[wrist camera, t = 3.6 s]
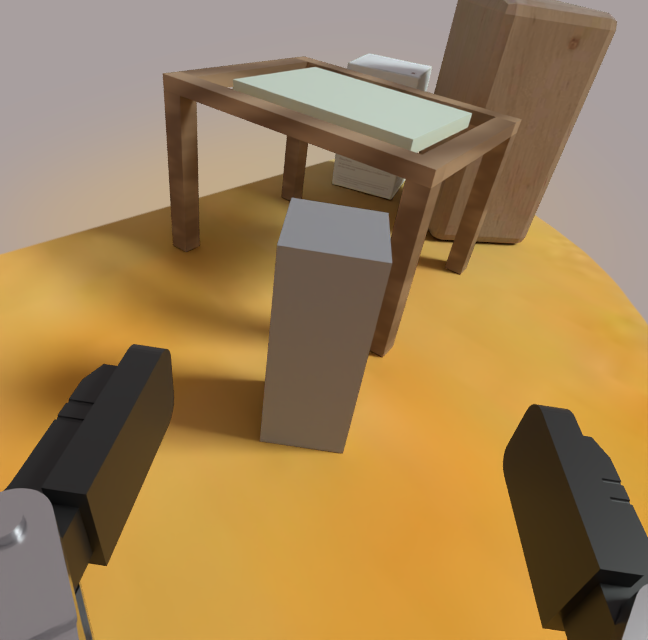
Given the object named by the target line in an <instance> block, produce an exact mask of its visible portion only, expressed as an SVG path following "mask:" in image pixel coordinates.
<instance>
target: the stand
mask: <svg viewBox="0 0 648 640" xmlns="http://www.w3.org/2000/svg"><path fill="white" fill-rule="evenodd" d="M311 67H317V68H321V69H324V70H328V71H332V72H335V73H338V74H342V75H345V76H348V77H352V78H355V79H358V80H361V81H365V82H368V83H372V84H375V85H378V86H382V87H385V88H388V89H392V90H395V91H399V92H402V93H405V94H409V95H412V96H415V97H419V98H422V99H426V100H430V101H433V102H436V103H440V104H443V105H446V106H450V107H453V108H456V109H459V110H463V111H466V112H469V113H472V115H471V119H470V122H469V124H471V125H474V126H477V127H475V128H473V129H471V130H469V131H467V132H466V133H464V134H462V135H460V136H458V137H456V138H454V139H452V140H450V141H448V142H446V143H444V144H442V145H440V146H438V147H436V148H434V149H432V150H430V151H428V152H426V153H424V154H419V153H416V152H413V151H410V150H407V149H404V148H401V147H398V146H395V145H392V144H390V143H387V142H384V141H381V140H378V139H375V138H372V137H369V136H366V135H363V134H361V133H358V132H355V131H352V130H349V129H346V128H343V127H340V126H337V125H334V124H331V123H329V122H326V121H323V120H320V119H317V118H314V117H311V116H308V115H305V114H302V113H300V112H297V111H294V110H291V109H288V108H285V107H282V106H279V105H276V104H273V103H270V102H268V101H265V100H262V99H259V98H256V97H253V96H250V95H247V94H244V93H241V92H239V91H236V90H233V89H230V88H227V87H233V79H239V78H245V77H252V76H258V75H265V74H272V73H278V72H285V71H292V70H298V69H305V68H311ZM163 85H164V101H165V118H166V133H167V151H168V168H169V183H170V201H171V217H172V234H173V245H174V246H176V247H178V248H180V249H182V250H183V251H185V252H187V251H189V250H191V249H194V248H196V247H198V246H200V238H199V195H198V148H197V105H196V104H197V103H196V102H199V103H201V104H204V105H207V106H210V107H212V108H215V109H217V110H220V111H223V112H226V113H228V114H231V115H234V116H237V117H239V118H242V119H245V120H247V121H250V122H253V123H255V124H258V125H261V126H264V127H266V128H269V129H272V130H274V131H277V132H280V133H282V134H285V135H287V142H286V153H285V164H284V175H283V186H282V198H285V199H287V200H289V201H291V198H298V199H301V198H302V191H303V183H304V174H305V165H306V157H307V147H308V143H309V144H312V145H315V146H318V147H320V148H323V149H326V150H329V151H331V152H334V153H336V154H339V155H342V156H344V157H347V158H350V159H352V160H355V161H358V162H361V163H363V164H366V165H369V166H371V167H374V168H377V169H379V170H382V171H385V172H388V173H390V174H393V175H396V176H398V177H401V178H404V179H405V183H404V187H403V191H402V195H401V199H400V203H399V207H398V211H397V215H396V219H395V223H394V228H393V232H392V236H391V253H392V266H391V270H390V274H389V278H388V282H387V286H386V290H385V293H384V297H383V301H382V305H381V309H380V313H379V316H378V320H377V324H376V328H375V332H374V336H373V339H372V343H371V347H370V351H372V352H374V353H376V354H378V355H379V356H381V357H383V356H384V355H385V354H386V353H387V352H388V351H389V350H390V349H391V348H392V347H393V344H394V341H395V337H396V334H397V331H398V327H399V324H400V321H401V317H402V314H403V311H404V307H405V304H406V301H407V297H408V294H409V290H410V287H411V284H412V280H413V277H414V274H415V270H416V267H417V264H418V260H419V257H420V254H421V250H422V247H423V243H424V240H425V237H426V233H427V230H428V227H429V223H430V220H431V217H432V213H433V210H434V207H435V203H436V200H437V196H438V193H439V190H440V186H441V183H442V181H443V180H445V179H446V178H448V177H450V176H451V175H453V174H454V173H456V172H457V171H459V170H460V169H462V168H463V167H465V166H466V165H468V164H470V163H471V162H473V161H474V160H476V159H477V158H479V157H480V156H482V155H483V157H482V160H481V163H480V166H479V169H478V171H477V174H476V177H475V180H474V183H473V186H472V189H471V192H470V195H469V198H468V201H467V204H466V207H465V210H464V213H463V216H462V219H461V221H460V224H459V227H458V230H457V233H456V236H455V239H454V242H453V245H452V248H451V251H450V254H449V257H448V260H447V263H446V266H445V268H447V269H449V270H451V271H454V272H456V273H458V274H461V273H462V272H463V271H464V270H465V269H466V267H467V265H468V262H469V259H470V257H471V254H472V251H473V249H474V246H475V243H476V241H477V238H478V235H479V233H480V230H481V227H482V225H483V222H484V219H485V216H486V214H487V211H488V208H489V206H490V203H491V200H492V198H493V195H494V192H495V190H496V187H497V184H498V182H499V179H500V176H501V173H502V171H503V168H504V165H505V163H506V160H507V157H508V155H509V152H510V149H511V147H512V144H513V141H514V139H515V136H516V133H517V130H518V128H519V125H520V122H521V120H522V119H519V118H515V117H512V116H508V115H505V114H501V113H498V112H494V111H491V110H488V109H484V108H481V107H477V106H474V105H470V104H467V103H463V102H460V101H456V100H453V99H450V98H446V97H443V96H439V95H436V94H432V93H429V92H425V91H422V90H418V89H415V88H412V87H408V86H405V85H401V84H398V83H394V82H391V81H387V80H384V79H380V78H377V77H374V76H370V75H367V74H363V73H360V72H356V71H353V70H349V69H345V68H342V67H339V66H336V65H332V64H328V63H325V62H322V61H318V60H315V59H311V58H307V57H295V58H287V59H278V60H270V61H262V62H255V63H246V64H237V65H229V66H221V67H213V68H204V69H196V70H187V71H179V72H171V73H163Z"/></svg>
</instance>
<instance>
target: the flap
mask: <svg viewBox="0 0 648 640" xmlns="http://www.w3.org/2000/svg"><path fill="white" fill-rule="evenodd" d="M233 90H236V91H239V92H241V93H244V94H247V95H250V96H253V97H256V98H259V99H262V100H265V101H268V102H270V103H273V104H276V105H279V106H282V107H285V108H288V109H291V110H294V111H297V112H300V113H302V114H305V115H308V116H311V117H314V118H317V119H320V120H323V121H326V122H329V123H331V124H334V125H337V126H340V127H343V128H346V129H349V130H352V131H355V132H358V133H361V134H363V135H366V136H369V137H372V138H375V139H378V140H381V141H384V142H387V143H390V144H392V145H395V146H398V147H401V148H404V149H407V150H410V151H413V152H416V153H417V152H419V151H421V150H423V149H425V148H427V147H429V146H431V145H433V144H435V143H437V142H439V141H441V140H443V139H445V138H447V137H449V136H451V135H453V134H455V133H457V132H459V131H461V130H464V129H466V128H468V125H469V122H470V119H471V115H472V113H469V112H466V111H463V110H459V109H456V108H453V107H450V106H446V105H443V104H440V103H436V102H433V101H430V100H426V99H422V98H419V97H415V96H412V95H409V94H405V93H402V92H399V91H395V90H392V89H388V88H385V87H382V86H378V85H375V84H372V83H368V82H365V81H361V80H358V79H355V78H352V77H348V76H345V75H342V74H338V73H335V72H332V71H328V70H324V69H321V68H317V67H311V68H305V69H298V70H292V71H285V72H278V73H272V74H265V75H258V76H252V77H245V78H239V79H233Z"/></svg>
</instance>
